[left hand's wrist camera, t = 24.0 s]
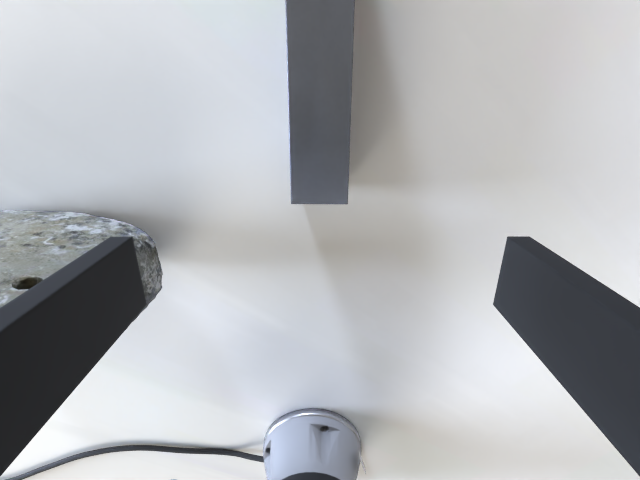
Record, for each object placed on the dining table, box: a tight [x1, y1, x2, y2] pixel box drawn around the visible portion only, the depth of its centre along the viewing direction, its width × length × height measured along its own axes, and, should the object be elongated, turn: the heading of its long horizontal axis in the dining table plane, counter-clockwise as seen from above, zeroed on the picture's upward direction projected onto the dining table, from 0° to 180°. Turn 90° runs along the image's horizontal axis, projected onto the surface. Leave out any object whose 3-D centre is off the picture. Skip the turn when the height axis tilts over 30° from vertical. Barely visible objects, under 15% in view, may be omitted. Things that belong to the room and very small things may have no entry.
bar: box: [286, 0, 355, 204], centre depth 32 cm, size 26×5×8 cm, turn 0°
